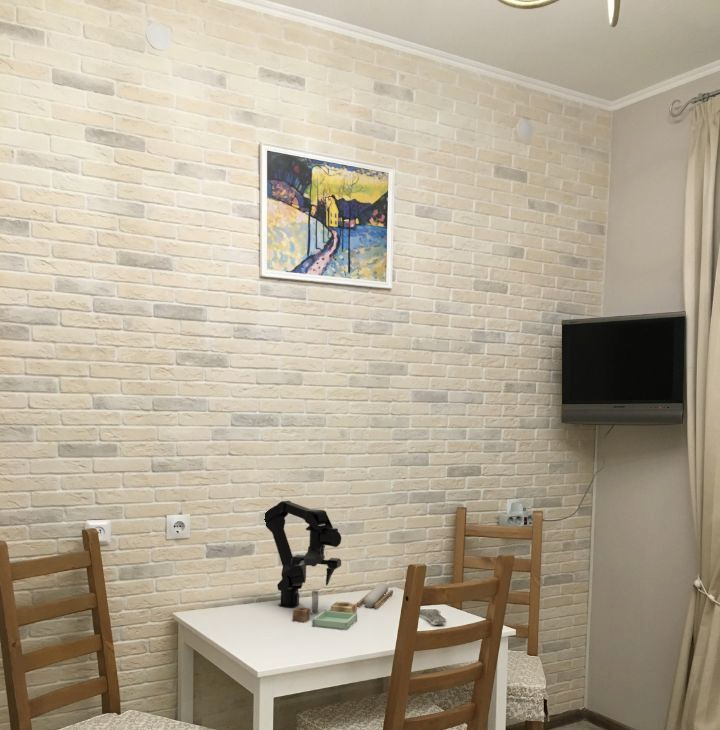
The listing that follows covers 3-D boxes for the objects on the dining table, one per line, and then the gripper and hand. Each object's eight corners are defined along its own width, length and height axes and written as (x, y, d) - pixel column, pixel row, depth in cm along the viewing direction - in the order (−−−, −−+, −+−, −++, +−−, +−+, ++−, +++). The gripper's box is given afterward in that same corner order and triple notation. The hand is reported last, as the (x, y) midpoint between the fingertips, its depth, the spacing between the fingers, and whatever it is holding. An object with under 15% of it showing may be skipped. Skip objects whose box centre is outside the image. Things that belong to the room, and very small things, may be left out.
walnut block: (292, 621, 288) (292, 610, 288) (297, 617, 293) (297, 606, 293) (305, 622, 286) (305, 611, 287) (309, 619, 291) (310, 608, 291)
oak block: (330, 615, 297) (330, 606, 297) (337, 610, 304) (337, 601, 305) (350, 617, 294) (350, 608, 295) (356, 612, 302) (356, 603, 302)
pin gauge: (310, 612, 300) (311, 591, 300) (313, 611, 302) (313, 590, 303) (316, 613, 299) (317, 592, 300) (318, 611, 301) (319, 590, 302)
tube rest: (356, 607, 309) (356, 602, 310) (374, 592, 334) (374, 588, 334) (376, 609, 307) (376, 604, 307) (392, 594, 332) (393, 590, 332)
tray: (312, 626, 282) (312, 619, 282) (324, 617, 294) (324, 610, 294) (346, 630, 278) (346, 623, 278) (357, 620, 291) (357, 613, 291)
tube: (377, 599, 308) (390, 585, 332) (364, 594, 309) (378, 580, 333) (372, 612, 308) (385, 596, 332) (360, 606, 309) (374, 591, 334)
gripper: (286, 544, 297) (285, 586, 296) (333, 548, 292) (331, 591, 291) (297, 540, 308) (295, 580, 307) (342, 543, 302) (341, 584, 302)
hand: (315, 584), depth 301 cm, fingers open, 9 cm apart
